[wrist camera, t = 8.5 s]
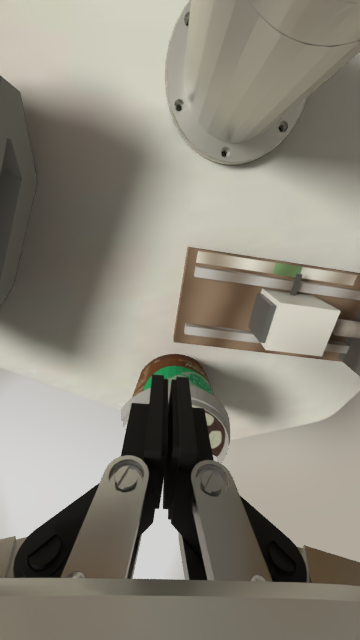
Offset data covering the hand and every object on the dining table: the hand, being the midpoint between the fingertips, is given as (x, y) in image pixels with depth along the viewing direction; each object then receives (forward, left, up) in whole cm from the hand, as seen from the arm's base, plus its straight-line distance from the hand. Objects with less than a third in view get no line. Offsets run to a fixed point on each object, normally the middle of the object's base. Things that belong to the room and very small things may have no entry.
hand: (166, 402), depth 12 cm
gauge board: (+1, +13, -19) cm, 24 cm away
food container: (+11, +4, -20) cm, 23 cm away
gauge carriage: (-1, +13, -18) cm, 22 cm away
